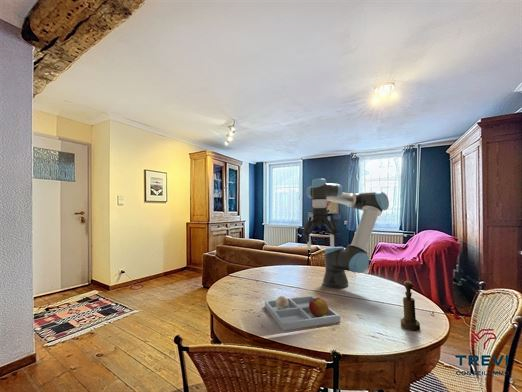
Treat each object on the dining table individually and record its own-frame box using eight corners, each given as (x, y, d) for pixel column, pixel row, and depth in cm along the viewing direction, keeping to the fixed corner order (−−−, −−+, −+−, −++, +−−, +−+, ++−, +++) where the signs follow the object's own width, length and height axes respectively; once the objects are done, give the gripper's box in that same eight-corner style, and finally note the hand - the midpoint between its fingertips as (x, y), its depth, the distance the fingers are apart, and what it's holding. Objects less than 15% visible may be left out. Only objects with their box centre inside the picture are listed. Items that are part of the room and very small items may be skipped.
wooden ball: (286, 306, 119) (285, 293, 119) (290, 311, 113) (290, 298, 114) (274, 308, 118) (273, 295, 118) (278, 313, 112) (277, 299, 112)
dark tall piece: (397, 324, 102) (395, 279, 103) (412, 323, 102) (410, 278, 103) (408, 332, 95) (405, 283, 96) (424, 331, 96) (421, 283, 97)
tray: (312, 302, 126) (312, 295, 127) (340, 324, 102) (340, 315, 103) (264, 308, 120) (264, 301, 120) (282, 333, 96) (282, 323, 96)
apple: (315, 311, 113) (315, 293, 113) (332, 316, 107) (331, 297, 107) (305, 317, 107) (305, 298, 108) (322, 322, 102) (321, 302, 102)
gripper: (336, 207, 141) (337, 245, 140) (295, 208, 135) (296, 247, 134) (344, 207, 134) (345, 247, 133) (301, 207, 128) (302, 249, 126)
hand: (320, 247), depth 133 cm, fingers open, 13 cm apart
